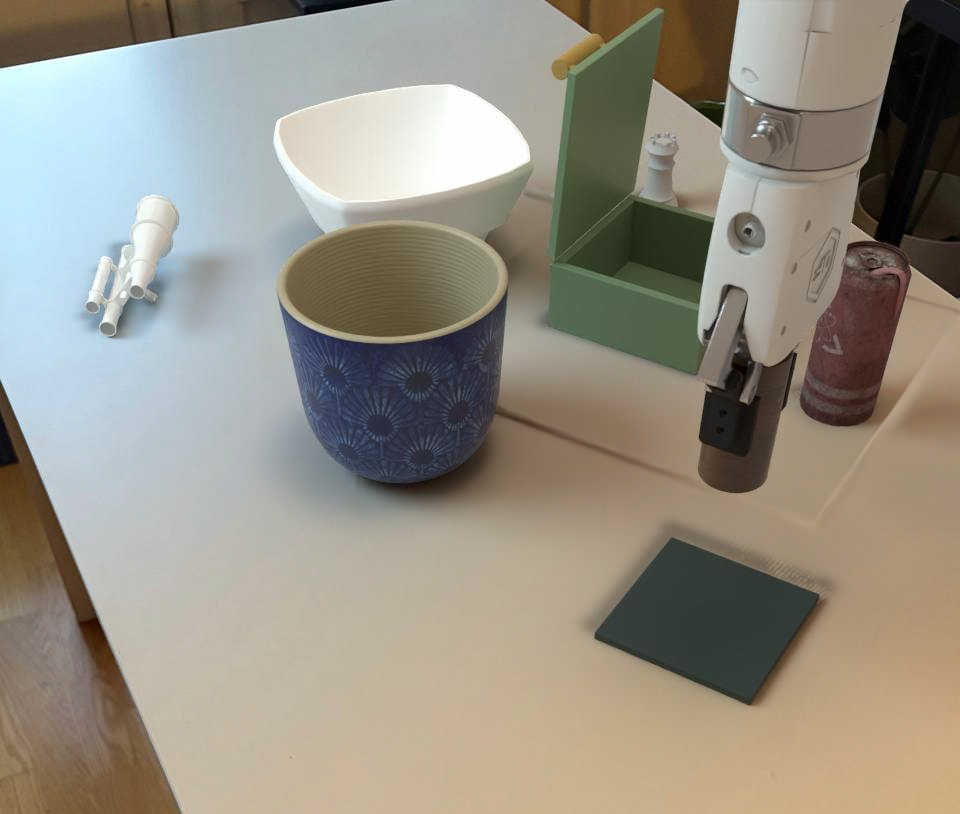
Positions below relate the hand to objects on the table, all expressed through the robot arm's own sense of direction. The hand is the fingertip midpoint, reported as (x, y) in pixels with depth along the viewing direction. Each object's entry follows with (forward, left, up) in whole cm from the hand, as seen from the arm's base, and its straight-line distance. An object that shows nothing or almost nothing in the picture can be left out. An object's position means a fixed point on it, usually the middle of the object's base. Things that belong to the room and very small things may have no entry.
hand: (742, 422), depth 74 cm
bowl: (+47, -30, -17) cm, 58 cm away
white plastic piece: (+65, -11, -17) cm, 68 cm away
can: (+1, -28, -17) cm, 33 cm away
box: (+21, -33, -17) cm, 43 cm away
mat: (0, 0, -17) cm, 17 cm away
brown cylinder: (0, 0, -4) cm, 4 cm away
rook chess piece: (+30, -50, -17) cm, 61 cm away
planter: (+30, -5, -17) cm, 35 cm away
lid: (+27, -33, -2) cm, 43 cm away
